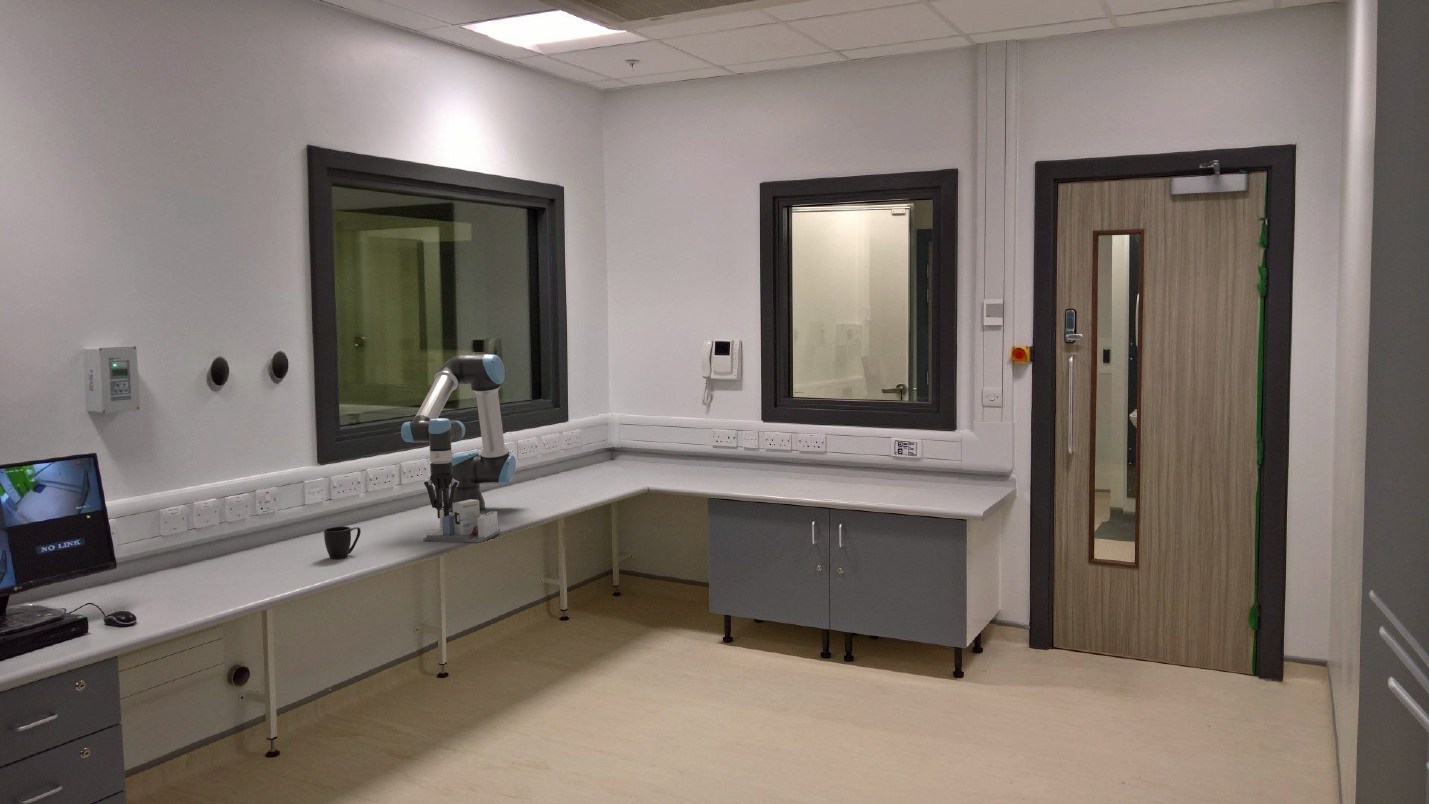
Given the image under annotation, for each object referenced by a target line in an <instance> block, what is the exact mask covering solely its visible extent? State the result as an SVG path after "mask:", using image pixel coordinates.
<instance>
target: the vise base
mask: <svg viewBox="0 0 1429 804" xmlns="http://www.w3.org/2000/svg"><path fill="white" fill-rule="evenodd" d="M477 521H478V533H475V534H470V535H443V528H440V530H437V531H435V532H433V533H431V534H426V535H425V537H423V539H422V540H423V542H425V543H426V542H433V543H438V542H439V543H441V542H442V543H484V542H486V541H488V540H490V539H492V538H493V537H495V536H497V535H498V534H500V533H501V529H500V528H499V526H498V525H499V523H498V511H491V510H490V511H489V512H486V513H484V514H482V515H480V517H478V518H477Z"/></svg>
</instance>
